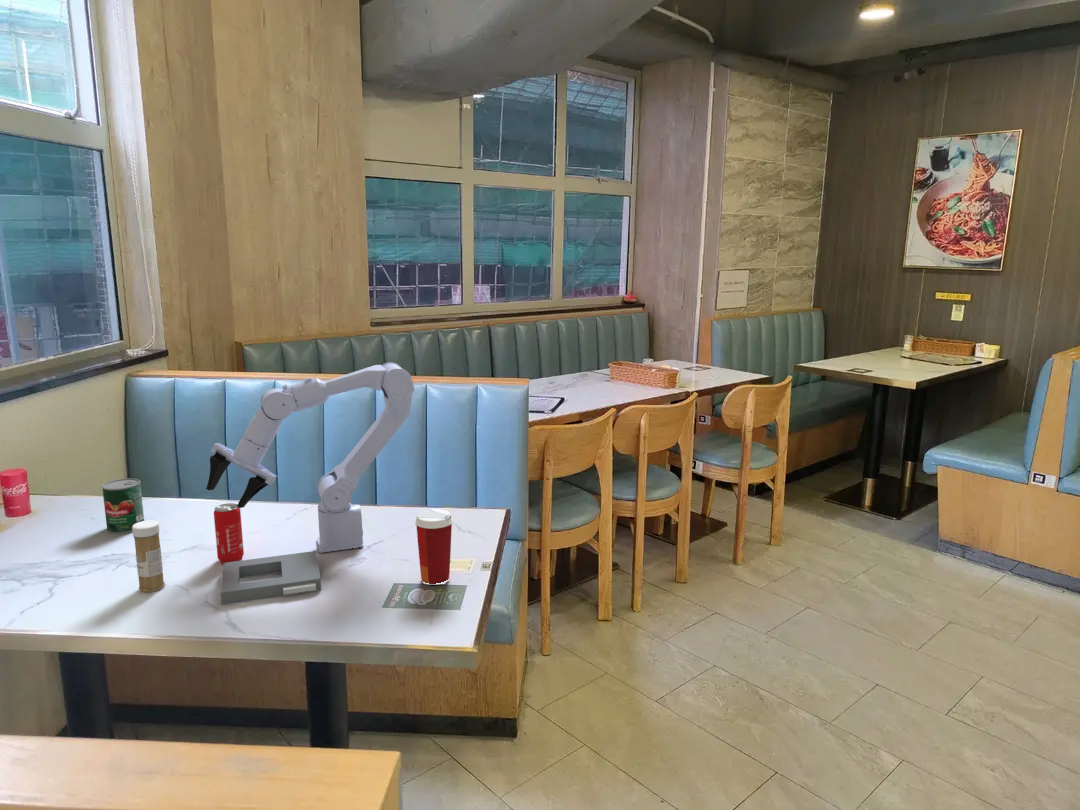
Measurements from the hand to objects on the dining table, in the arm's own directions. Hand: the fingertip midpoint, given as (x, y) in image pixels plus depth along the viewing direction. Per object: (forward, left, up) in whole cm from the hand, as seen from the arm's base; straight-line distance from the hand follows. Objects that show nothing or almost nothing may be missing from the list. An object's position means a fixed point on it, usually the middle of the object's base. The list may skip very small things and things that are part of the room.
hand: (225, 498), depth 152 cm
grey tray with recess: (-8, +14, -14) cm, 22 cm away
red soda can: (0, 0, -14) cm, 14 cm away
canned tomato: (+24, -28, -14) cm, 39 cm away
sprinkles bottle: (+14, +9, -14) cm, 22 cm away
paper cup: (-39, +24, -14) cm, 48 cm away
